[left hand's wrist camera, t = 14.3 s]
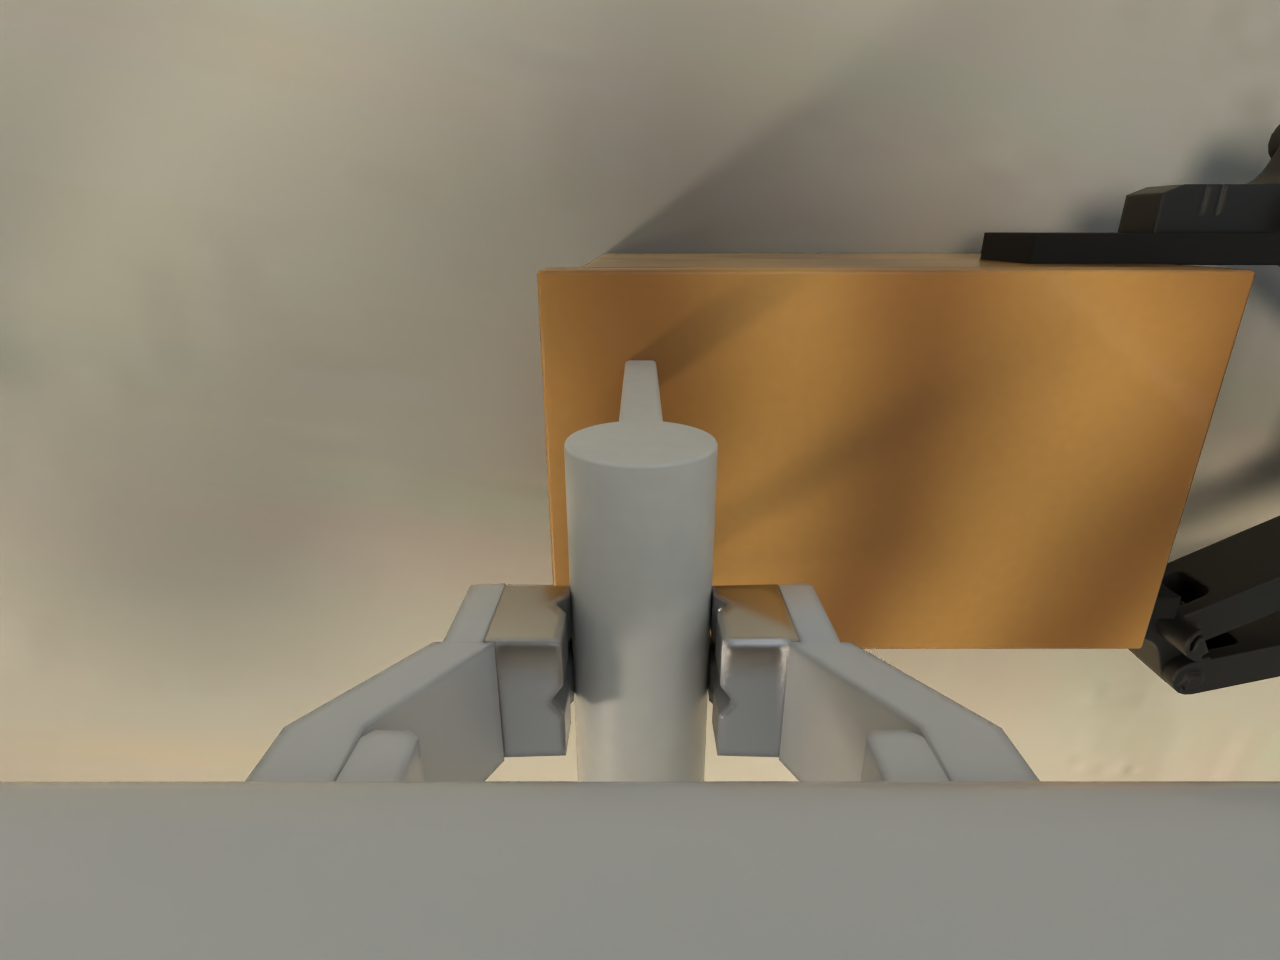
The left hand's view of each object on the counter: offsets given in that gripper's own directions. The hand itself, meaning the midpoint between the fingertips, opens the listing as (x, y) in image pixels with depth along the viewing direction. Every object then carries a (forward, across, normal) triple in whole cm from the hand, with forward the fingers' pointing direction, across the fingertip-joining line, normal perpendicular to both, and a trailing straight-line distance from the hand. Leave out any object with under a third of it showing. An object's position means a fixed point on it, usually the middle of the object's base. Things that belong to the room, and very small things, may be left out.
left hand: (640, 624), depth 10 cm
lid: (+8, -6, 0) cm, 9 cm away
